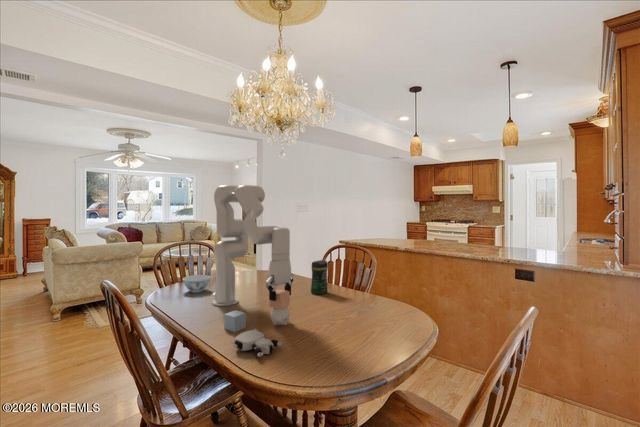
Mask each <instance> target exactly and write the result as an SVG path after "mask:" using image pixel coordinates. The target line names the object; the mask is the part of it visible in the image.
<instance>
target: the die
mask: <svg viewBox="0 0 640 427" xmlns="http://www.w3.org/2000/svg"><path fill="white" fill-rule="evenodd" d="M269 316H270V318H271V321H272V324H273V326H287V324H288V322H289V320H290V318H291V313H290V309H289V307H288V306H287V307H284V308H282V309H278V308H273V307H272V309H271V311H270V313H269Z"/></svg>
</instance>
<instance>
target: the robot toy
mask: <svg viewBox="0 0 640 427" xmlns="http://www.w3.org/2000/svg"><path fill="white" fill-rule="evenodd" d="M228 341H229V342H230V343H231V344H232V345H234V347H235V348H237V349H238V350H240V351H250V350H253V351H254V354H255V356H256V357H263V355H269V354H271V353H273V351H274V347H275V348H277V346H278V347H281V346H282V345H283V343H282V342H281V341H279V340H277V339H272V340H271V339H268V338H265V335H264V333H263V332H261V331H259V330H258V329H256V328H254V329H252V330H247V331H244V332H241V333H240V334H238V335H236V337H234V342H233V341H232V340H231V339H229V340H228Z"/></svg>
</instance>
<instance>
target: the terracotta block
mask: <svg viewBox="0 0 640 427" xmlns="http://www.w3.org/2000/svg"><path fill="white" fill-rule="evenodd" d="M275 291H276V301H272V300H268V301H269V302H268V305H269V307H270V308H272V309H273V308H278V309H282V308H284V307H288V306H291V305H290V302H291V301H290V300H291V299H290V298H291V297H290V296H291V295H290V291H286V290H285V289H280V288H278V289H275Z"/></svg>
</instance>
